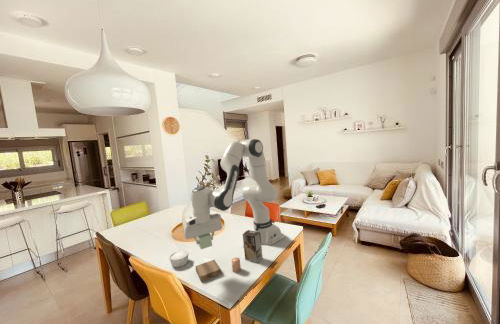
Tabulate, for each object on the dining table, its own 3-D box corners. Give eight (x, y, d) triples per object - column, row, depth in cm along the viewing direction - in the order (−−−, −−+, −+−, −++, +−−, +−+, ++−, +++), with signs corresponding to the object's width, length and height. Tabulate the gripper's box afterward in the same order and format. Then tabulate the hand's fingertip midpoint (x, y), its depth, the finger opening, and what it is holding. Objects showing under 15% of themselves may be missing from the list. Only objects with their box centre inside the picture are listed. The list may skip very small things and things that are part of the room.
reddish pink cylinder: (238, 266, 119) (237, 256, 118) (242, 270, 114) (241, 260, 114) (231, 269, 117) (230, 259, 116) (234, 273, 112) (233, 263, 112)
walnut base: (214, 264, 123) (214, 259, 122) (221, 274, 113) (220, 268, 113) (196, 271, 118) (195, 266, 118) (201, 281, 108) (200, 276, 108)
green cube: (209, 241, 118) (207, 231, 117) (212, 245, 113) (211, 235, 112) (198, 244, 115) (197, 234, 115) (201, 249, 110) (199, 238, 109)
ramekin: (173, 259, 133) (172, 251, 132) (191, 256, 134) (190, 249, 133) (167, 269, 122) (166, 261, 121) (187, 267, 123) (186, 258, 122)
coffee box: (263, 258, 125) (260, 232, 123) (257, 263, 120) (255, 236, 118) (250, 254, 130) (248, 229, 129) (244, 259, 125) (242, 234, 123)
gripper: (218, 211, 120) (220, 234, 121) (181, 219, 111) (184, 244, 112) (222, 214, 114) (224, 238, 115) (183, 223, 105) (186, 249, 106)
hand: (204, 241), depth 114 cm, fingers closed on green cube, 6 cm apart
